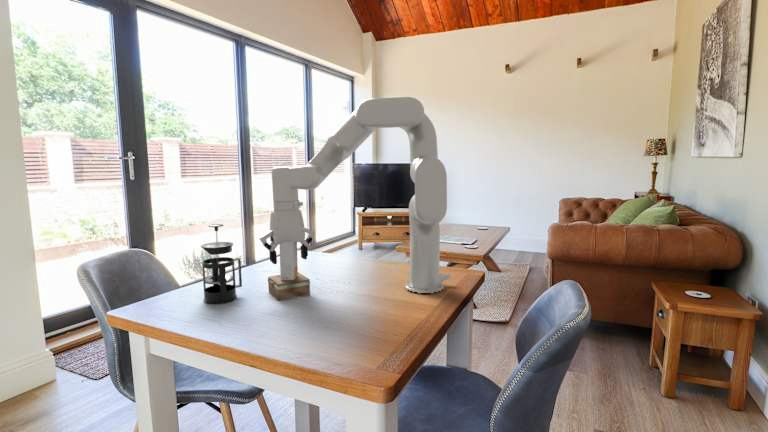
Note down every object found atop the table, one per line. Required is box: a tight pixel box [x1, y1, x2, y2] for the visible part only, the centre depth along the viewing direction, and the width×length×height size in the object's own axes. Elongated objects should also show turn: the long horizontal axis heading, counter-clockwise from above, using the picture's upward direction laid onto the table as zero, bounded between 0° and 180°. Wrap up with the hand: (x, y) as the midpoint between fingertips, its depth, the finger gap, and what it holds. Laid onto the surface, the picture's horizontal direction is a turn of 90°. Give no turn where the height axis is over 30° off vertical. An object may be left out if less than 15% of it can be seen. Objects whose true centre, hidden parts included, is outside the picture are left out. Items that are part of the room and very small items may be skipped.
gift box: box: [267, 272, 311, 301], centre depth 134 cm, size 11×10×5 cm
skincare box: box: [279, 241, 299, 280], centre depth 133 cm, size 6×4×12 cm
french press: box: [200, 223, 243, 305], centre depth 128 cm, size 12×9×23 cm
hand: (289, 260), depth 133 cm, fingers open, 9 cm apart
